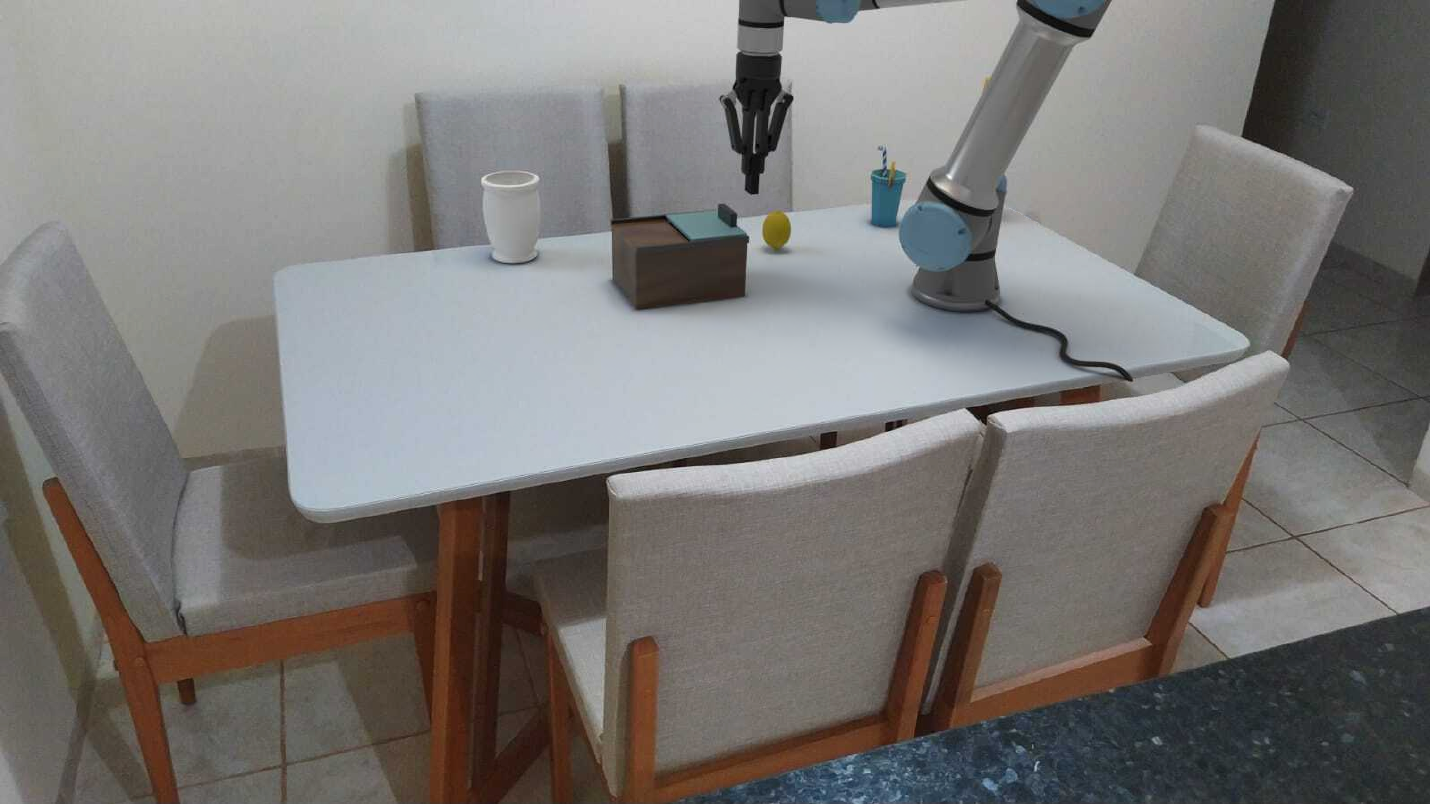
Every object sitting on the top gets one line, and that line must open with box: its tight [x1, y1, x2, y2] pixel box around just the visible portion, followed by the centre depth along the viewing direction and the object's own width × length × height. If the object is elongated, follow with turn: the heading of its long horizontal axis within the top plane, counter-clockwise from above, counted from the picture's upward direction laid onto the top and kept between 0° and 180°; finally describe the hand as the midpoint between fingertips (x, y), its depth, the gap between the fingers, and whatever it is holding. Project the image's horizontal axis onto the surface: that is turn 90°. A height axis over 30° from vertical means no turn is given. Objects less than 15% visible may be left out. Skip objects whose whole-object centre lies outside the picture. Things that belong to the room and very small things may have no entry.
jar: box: [480, 170, 542, 264], centre depth 194 cm, size 11×10×15 cm
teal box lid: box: [666, 203, 748, 241], centre depth 182 cm, size 13×10×3 cm
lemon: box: [761, 209, 792, 251], centre depth 203 cm, size 6×6×8 cm
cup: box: [870, 145, 908, 228], centre depth 219 cm, size 14×8×15 cm, turn 10°
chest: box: [610, 209, 750, 310], centre depth 183 cm, size 15×20×11 cm
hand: (751, 192), depth 183 cm, fingers closed
